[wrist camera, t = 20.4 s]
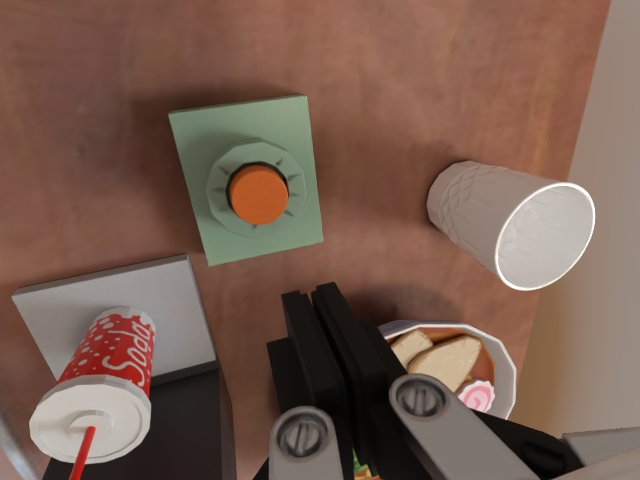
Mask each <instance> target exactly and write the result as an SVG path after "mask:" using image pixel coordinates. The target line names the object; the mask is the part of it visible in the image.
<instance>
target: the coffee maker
mask: <svg viewBox="0 0 640 480" xmlns="http://www.w3.org/2000/svg"><path fill="white" fill-rule="evenodd" d="M11 298H12V300H13V302H14V303H15V305H16V307H17V309H18V311H19V313H20V314H21V316H22V318H23V320H24V322H25V324H26V325H27V327H28V329H29V331H30V333H31V334H32V336H33V338H34V340H35V342H36V344H37V345H38V347H39V349H40V351H41V353H42V355H43V356H44V358H45V360H46V362H47V364H48V366H49V367H50V369H51V371H52V373H53V375H54V376H55V378H56V380H57V381H58V380H59V378H60V376H61V375H62V373H63V371H64V370H65V368H66V367H67V365H68V363H69V362H70V360H71V358H72V357H73V355H74V353H75V352H76V350H77V348H78V347H79V345H80V343H81V342H82V340H83V338H84V337H85V335H86V333H87V332H88V330H89V328H90V327H91V325H92V323H93V322H94V320H95V318H96V317H97V316H99V315H100V314H101V313H103V312H104V311H105V310H108V309H112V308H115V307H132V308H135V309H138V310H141V311H143V312H144V313H146V314H147V315H148V316H149V317H151V319H152V321H153V323H154V325H155V327H156V328H155V343H154V352H153V362H152V371H151V381H150V390H149V401H150V403H151V419H150V428H149V431H148V432H147V434H146V436H145V437H144V439H143V440H142V442H141V444H139V445H138V446H137V447H135V448H134V449H133V450H131V451H130V452H128V453H127V454H126V455H123V456H121V457H118V458H115V459H113V460H110V461H107V462H102V463H92V464H85V465H84V468H83V471H82V474H81V477H80V480H237V472H236V457H235V442H234V427H233V412H232V404H231V401H230V397H229V394H228V391H227V387H226V384H225V380H224V377H223V373H222V370H221V366H220V363H219V360H218V356H217V353H216V349H215V346H214V342H213V339H212V335H211V332H210V329H209V325H208V322H207V318H206V315H205V311H204V308H203V304H202V301H201V298H200V294H199V291H198V287H197V284H196V280H195V277H194V273H193V270H192V266H191V263H190V260H189V256H188V254H183V255H178V256H173V257H168V258H163V259H158V260H153V261H148V262H144V263H139V264H134V265H129V266H124V267H119V268H114V269H110V270H105V271H100V272H95V273H90V274H85V275H80V276H75V277H71V278H66V279H61V280H56V281H51V282H46V283H41V284H36V285H32V286H27V287H22V288H18V289H17V290H16V291H15V292H14V293H13V295H12V296H11ZM74 464H75V463H70V462H63V461H59V460H57V459H55V458H53V457H51V459H50V462H49V464H48V467H47V469H46V471H45V474H44V476H43V479H42V480H69V478H70V475H71V472H72V469H73V466H74Z"/></svg>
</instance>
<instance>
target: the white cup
mask: <svg viewBox="0 0 640 480" xmlns="http://www.w3.org/2000/svg"><path fill="white" fill-rule="evenodd" d="M426 207H427V211H428V215H429V219H430V221H431V222H432V223H433V224H434V225H435V226H436V227H437V228H438V229H439V230H440V231H441V232H443V233H444V234H445V235H447V236H448V238H449V239H450V240H451V241H452V242H453V243H455V244H456V245H457V246H458V247H459V248H461V249H462V250H463V251H464V252H465V253H467V254H468V255H469V256H470V257H472V258H473V259H474V260H476V261H477V262H478V263H479V264H481V265H482V266H483V267H485V268H486V269H487V270H488V271H490V272H491V273H492V274H494V275H495V276H496V277H497V278H499V279H500V280H501V281H502V282H504V283H505V284H506V285H508V286H509V287H511V288H514V289H517V290H523V291H528V290H535V289H539V288H542V287H545V286H547V285H549V284H551V283H553V282H554V281H556V280H558V279H559V278H560V277H562V276H563V275H564V274H565V273H567V272H568V271H569V270H570V269H571V268H572V266H574V264H575V263H576V262H577V261H578V259H579V258H580V257H581V255H582V254H583V252H584V251H585V249H586V247H587V245H588V243H589V241H590V238H591V236H592V232H593V229H594V222H595V209H594V204H593V201H592V199H591V197H590V195H589V194H588V193H587V192H586V190H584V189H583V188H582V187H580V186H578V185H576V184H573V183H569V182H565V181H561V180H556V179H552V178H548V177H544V176H540V175H536V174H532V173H528V172H524V171H519V170H515V169H510V168H505V167H500V166H491V165H485V164H481V163H477V162H474V161H464V162H460V163H455V164H452V165H451V166H450V167H448V168H447V169H446V170H444V171H443V172H442V173H440V174H439V175H438V177H437V178H436V180H435V181H434V183H433V185H432V186H431V188H430V190H429V194H428V199H427V204H426Z"/></svg>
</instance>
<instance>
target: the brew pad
mask: <svg viewBox="0 0 640 480" xmlns="http://www.w3.org/2000/svg"><path fill="white" fill-rule="evenodd" d="M168 117H169V121H170V125H171V128H172V132H173V136H174V139H175V143H176V147H177V151H178V154H179V158H180V162H181V166H182V169H183V173H184V177H185V181H186V184H187V188H188V192H189V195H190V199H191V203H192V207H193V210H194V214H195V218H196V222H197V225H198V229H199V233H200V237H201V240H202V244H203V248H204V251H205V255H206V259H207V263H208V266H214V265H219V264H223V263H228V262H233V261H237V260H242V259H247V258H251V257H256V256H261V255H265V254H270V253H275V252H279V251H284V250H289V249H293V248H298V247H303V246H307V245H312V244H317V243H321V242H323V232H322V224H321V215H320V206H319V197H318V189H317V180H316V171H315V162H314V153H313V145H312V136H311V127H310V118H309V110H308V101H307V95H303V94H294V95H286V96H279V97H271V98H264V99H256V100H249V101H241V102H234V103H226V104H219V105H211V106H204V107H196V108H189V109H181V110H174V111H171V112H170V113H169V114H168ZM252 165H263V166H266V167H269V168H271V169H272V170H274V171H275V172H276V173H277V174H278V175H279V177H280V178H281V179H282V181H283V182H284V184H285V186H286V188H287V192H288V202H287V206H286V208H285V210H284V212H283V213H282V215H281V216H280V217H279V218H277V219H276V220H275V221H273V222H271V223H268V224H263V225H255V224H250V223H248V222H246V221H244V220H242V219H241V218H240V217H239V216H238V215H237V214H236V212H235V211H234V209H233V206H232V202H231V196H230V186H231V183H232V180H233V178H234V177H235V175H236V174H237V173H238V172H239V171H241V170H242V169H244V168H245V167H248V166H252Z"/></svg>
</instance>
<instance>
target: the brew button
mask: <svg viewBox="0 0 640 480" xmlns="http://www.w3.org/2000/svg"><path fill="white" fill-rule="evenodd" d="M230 196H231V202H232V206H233V209H234V211H235V212H236V214H237V215H238V216H239V217H240V218H241V219H242V220H244V221H246V222H248V223H250V224H255V225H263V224H268V223H271V222H273V221H275V220H276V219H277V218H279V217H280V216H281V215H282V213H283V212H284V210H285V208H286V206H287V202H288V192H287V188H286V186H285V184H284V182H283V181H282V179H281V178H280V177H279V175H278V174H277V173H276V172H275V171H274V170H272V169H271V168H269V167H266V166H263V165H252V166H248V167H245V168H244V169H242V170H241V171H239V172H238V173H237V174H236V175H235V177H234V178H233V180H232V183H231V186H230Z"/></svg>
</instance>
